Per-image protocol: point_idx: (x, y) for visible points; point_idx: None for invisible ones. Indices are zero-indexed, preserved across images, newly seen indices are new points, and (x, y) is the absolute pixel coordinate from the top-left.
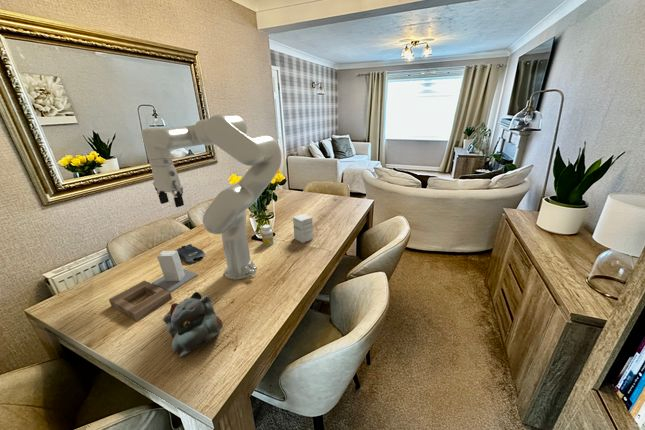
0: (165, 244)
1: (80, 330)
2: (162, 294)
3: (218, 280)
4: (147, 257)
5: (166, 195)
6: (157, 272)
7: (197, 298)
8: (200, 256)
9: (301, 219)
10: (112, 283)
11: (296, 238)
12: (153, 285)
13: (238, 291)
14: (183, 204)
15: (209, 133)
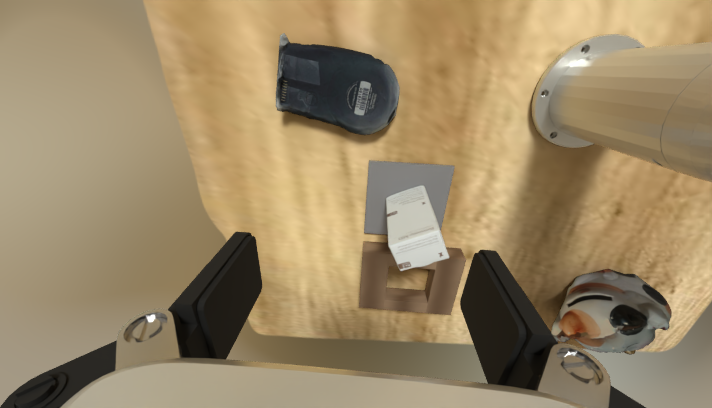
0: (165, 64)
1: (374, 333)
2: (454, 269)
3: (532, 161)
4: (217, 155)
5: (220, 290)
6: (329, 196)
7: (639, 328)
8: (397, 96)
9: None
10: (279, 257)
11: None
12: None
13: (619, 177)
14: (494, 254)
15: None
